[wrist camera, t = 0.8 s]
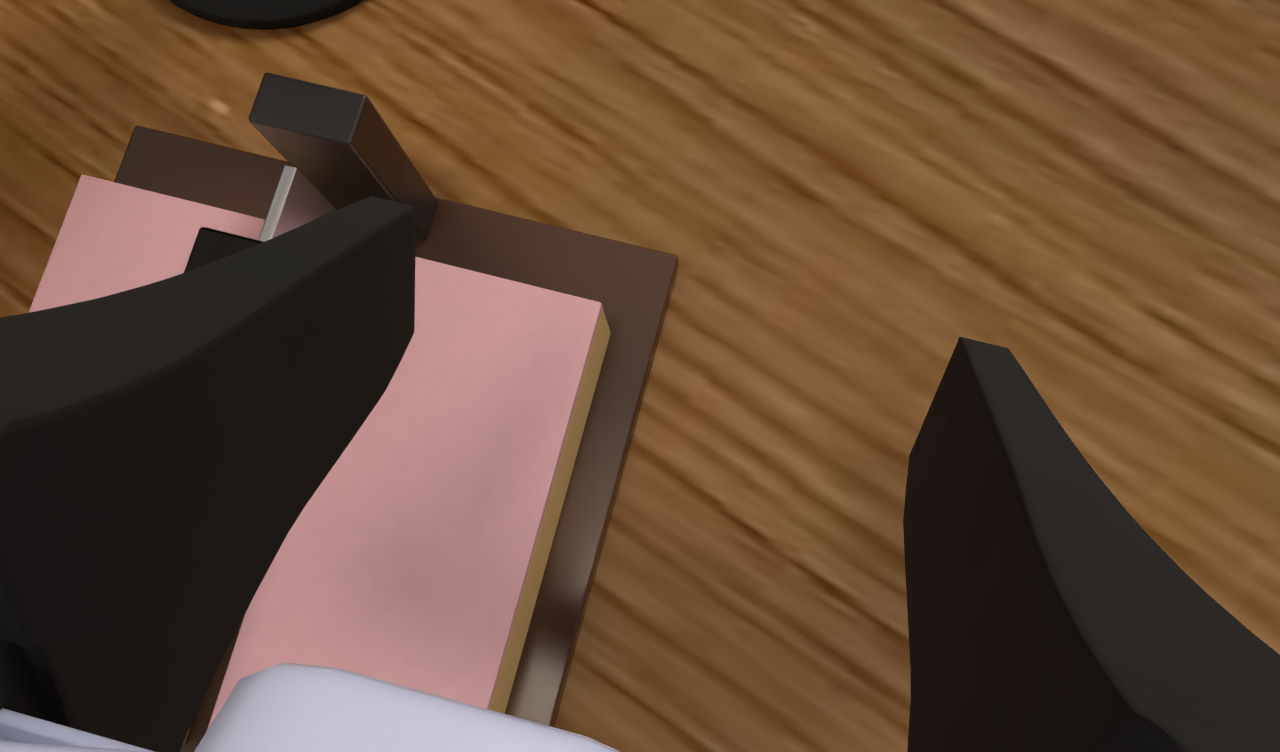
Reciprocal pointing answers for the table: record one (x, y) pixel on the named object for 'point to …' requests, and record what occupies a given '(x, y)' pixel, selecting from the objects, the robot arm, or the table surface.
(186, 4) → the wine glass
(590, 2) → the table surface
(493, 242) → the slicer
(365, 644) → the pink sponge pad
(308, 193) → the knife
